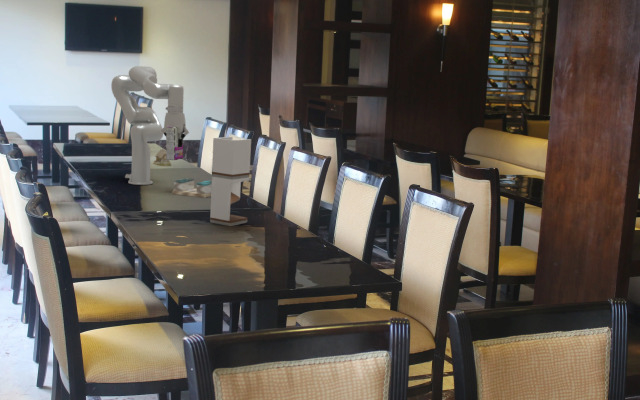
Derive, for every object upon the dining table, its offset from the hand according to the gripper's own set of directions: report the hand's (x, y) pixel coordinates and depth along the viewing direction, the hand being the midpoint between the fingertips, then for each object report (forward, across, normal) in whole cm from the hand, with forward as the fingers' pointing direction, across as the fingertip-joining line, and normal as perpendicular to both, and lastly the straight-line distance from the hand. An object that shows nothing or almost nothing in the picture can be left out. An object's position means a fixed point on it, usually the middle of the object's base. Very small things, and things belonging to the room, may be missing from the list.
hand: (174, 146), depth 400 cm
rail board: (+23, +12, 0) cm, 26 cm away
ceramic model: (+21, -57, +88) cm, 107 cm away
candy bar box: (+7, 0, 0) cm, 7 cm away
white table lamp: (+24, +57, -56) cm, 83 cm away
